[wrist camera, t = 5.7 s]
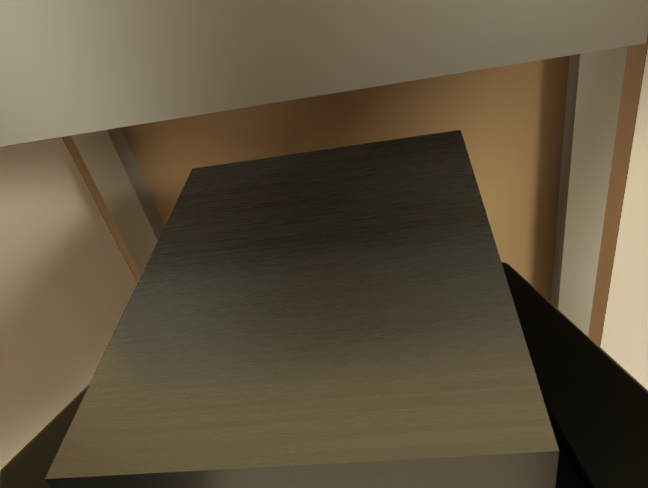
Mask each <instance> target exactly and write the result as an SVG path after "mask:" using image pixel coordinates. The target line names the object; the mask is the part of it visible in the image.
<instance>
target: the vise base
mask: <svg viewBox="0 0 648 488" xmlns="http://www.w3.org/2000/svg"><path fill="white" fill-rule="evenodd" d="M647 47H648V0H0V147H2V146H8V145H14V144H20V143H27V142H33V141H39V140H45V139H52V138H58V137H62V138H63V140H64V142H65V144H66V146H67V148H68V149H69V151H70V153H71V155H72V157H73V159H74V161H75V163H76V165H77V167H78V169H79V171H80V173H81V175H82V177H83V179H84V180H85V182H86V184H87V186H88V188H89V190H90V192H91V194H92V196H93V198H94V200H95V202H96V204H97V206H98V208H99V210H100V211H101V213H102V215H103V217H104V219H105V221H106V223H107V225H108V227H109V229H110V231H111V233H112V235H113V237H114V239H115V241H116V242H117V244H118V246H119V248H120V250H121V252H122V254H123V256H124V258H125V260H126V262H127V264H128V266H129V268H130V270H131V272H132V273H133V275H134V277H135V279H136V281H137V283H138V282H139V280H140V278H141V275H142V273H143V271H144V269H145V267H146V265H147V263H148V261H149V259H150V256H151V254H152V252H153V250H154V248H155V246H156V244H157V242H158V240H159V238H160V235H161V233H162V231H163V229H164V227H165V225H166V223H167V221H168V219H169V216H170V214H171V212H172V210H173V208H174V206H175V204H176V202H177V200H178V198H179V195H180V193H181V191H182V189H183V187H184V185H185V183H186V181H187V179H188V176H189V174H190V172H191V170H192V168H199V167H206V166H213V165H220V164H227V163H234V162H241V161H248V160H255V159H261V158H268V157H275V156H282V155H289V154H296V153H303V152H310V151H317V150H324V149H331V148H338V147H344V146H351V145H358V144H365V143H372V142H379V141H386V140H393V139H400V138H407V137H414V136H420V135H427V134H434V133H441V132H448V131H455V130H461V132H462V136H463V139H464V142H465V145H466V149H467V152H468V155H469V158H470V162H471V165H472V168H473V171H474V175H475V178H476V181H477V184H478V188H479V191H480V194H481V197H482V201H483V204H484V207H485V211H486V214H487V217H488V220H489V224H490V227H491V230H492V233H493V237H494V240H495V243H496V246H497V250H498V253H499V256H500V259H501V262H505V263H507V264H509V265H510V266H511V267H512V268H513V269H514V270H516V271H517V272H518V273H519V274H520V275H521V276H522V277H523V278H524V279H525V280H527V281H528V282H529V283H530V284H531V285H532V286H533V287H534V288H535V289H536V290H538V291H539V292H540V293H541V294H542V295H543V296H544V297H545V298H546V299H547V300H549V301H550V302H551V303H552V304H553V305H554V306H555V307H556V308H557V309H559V310H560V311H561V312H562V313H563V314H564V315H565V316H566V317H567V318H568V319H570V320H571V321H572V322H573V323H574V324H575V325H576V326H577V327H578V328H579V329H581V330H582V331H583V332H584V333H585V334H586V335H587V336H588V337H589V338H590V339H592V340H593V341H594V342H595V343H596V344H597V345H598V346H599V347H600V345H601V338H602V332H603V326H604V319H605V313H606V307H607V300H608V294H609V288H610V281H611V275H612V269H613V262H614V256H615V250H616V243H617V237H618V231H619V224H620V218H621V212H622V205H623V199H624V193H625V187H626V180H627V174H628V168H629V161H630V155H631V149H632V142H633V136H634V130H635V123H636V117H637V111H638V104H639V98H640V92H641V85H642V79H643V73H644V66H645V60H646V54H647Z"/></svg>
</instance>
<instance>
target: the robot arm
mask: <svg viewBox="0 0 648 488" xmlns="http://www.w3.org/2000/svg"><path fill="white" fill-rule="evenodd" d="M501 263H502V266H503V269H504V272H505V276H506V279H507V282H508V285H509V289H510V292H511V295H512V298H513V302H514V305H515V308H516V312H517V315H518V318H519V321H520V325H521V328H522V331H523V334H524V338H525V341H526V344H527V347H528V351H529V354H530V357H531V360H532V364H533V367H534V370H535V373H536V377H537V380H538V383H539V386H540V390H541V393H542V396H543V400H544V403H545V406H546V409H547V413H548V416H549V419H550V422H551V426H552V429H553V432H554V435H555V439H556V442H557V445H558V448H559V458H558V467H557V476H556V485H555V488H648V390H647V389H645V388H644V387H643V386H642V385H641V384H640V383H639V382H638V381H637V380H636V379H634V378H633V377H632V376H631V375H630V374H629V373H628V372H627V371H626V370H625V369H623V368H622V367H621V366H620V365H619V364H618V363H617V362H616V361H615V360H614V359H612V358H611V357H610V356H609V355H608V354H607V353H606V352H605V351H604V350H603V349H601V348H600V347H599V346H598V345H597V344H596V343H595V342H594V341H593V340H592V339H590V338H589V337H588V336H587V335H586V334H585V333H584V332H583V331H582V330H581V329H579V328H578V327H577V326H576V325H575V324H574V323H573V322H572V321H571V320H570V319H568V318H567V317H566V316H565V315H564V314H563V313H562V312H561V311H560V310H559V309H557V308H556V307H555V306H554V305H553V304H552V303H551V302H550V301H549V300H547V299H546V298H545V297H544V296H543V295H542V294H541V293H540V292H539V291H538V290H536V289H535V288H534V287H533V286H532V285H531V284H530V283H529V282H528V281H527V280H525V279H524V278H523V277H522V276H521V275H520V274H519V273H518V272H517V271H516V270H514V269H513V268H512V267H511V266H510V265H509V264H507V263H505V262H501ZM89 385H90V384H89ZM89 385H88V386H87V387H86V388H85V389H84V390H83V391H82V392H81V393H80V394H79V395H78V396H77V397H76V398H75V399H74V400H73V401H72V402H71V403H70V404H68V405H67V406H66V407H65V408H64V409H63V410H62V411H61V412H60V413H59V414H58V415H57V416H56V417H55V418H54V419H53V420H52V421H51V422H50V423H49V424H48V425H47V426H46V427H45V428H44V429H43V430H42V431H41V432H40V433H39V434H38V435H37V436H35V437H34V438H33V439H32V440H31V441H30V442H29V443H28V444H27V445H26V446H25V447H24V448H23V449H22V450H21V451H20V452H19V453H18V454H17V455H16V456H15V457H14V458H13V459H12V460H11V461H10V462H9V463H8V464H7V465H6V466H4V467H3V468H2V469H1V471H0V488H52V487H51V485H50V484H49V483H48V482H47V481H46V480H45V477H46V475H47V473H48V471H49V469H50V467H51V465H52V463H53V461H54V459H55V456H56V454H57V452H58V450H59V448H60V446H61V444H62V442H63V440H64V437H65V435H66V433H67V431H68V429H69V427H70V425H71V423H72V421H73V419H74V416H75V414H76V412H77V410H78V408H79V406H80V404H81V402H82V400H83V397H84V395H85V393H86V391H87V389H88V387H89Z"/></svg>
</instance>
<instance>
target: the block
mask: <svg viewBox="0 0 648 488" xmlns="http://www.w3.org/2000/svg"><path fill="white" fill-rule="evenodd" d="M558 458H559V448H558V445H557V442H556V439H555V435H554V432H553V429H552V426H551V422H550V419H549V416H548V413H547V409H546V406H545V403H544V400H543V396H542V393H541V390H540V386H539V383H538V380H537V377H536V373H535V370H534V367H533V364H532V360H531V357H530V354H529V351H528V347H527V344H526V341H525V338H524V334H523V331H522V328H521V325H520V321H519V318H518V315H517V312H516V308H515V305H514V302H513V298H512V295H511V292H510V289H509V285H508V282H507V279H506V276H505V272H504V269H503V266H502V263H501V259H500V256H499V253H498V250H497V246H496V243H495V240H494V237H493V233H492V230H491V227H490V224H489V220H488V217H487V214H486V211H485V207H484V204H483V201H482V197H481V194H480V191H479V188H478V184H477V181H476V178H475V175H474V171H473V168H472V165H471V162H470V158H469V155H468V152H467V149H466V145H465V142H464V139H463V136H462V132H461V130H455V131H448V132H441V133H434V134H427V135H420V136H414V137H407V138H400V139H393V140H386V141H379V142H372V143H365V144H358V145H351V146H344V147H338V148H331V149H324V150H317V151H310V152H303V153H296V154H289V155H282V156H275V157H268V158H261V159H255V160H248V161H241V162H234V163H227V164H220V165H213V166H206V167H199V168H192V170H191V172H190V174H189V176H188V179H187V181H186V183H185V185H184V187H183V189H182V191H181V193H180V195H179V198H178V200H177V202H176V204H175V206H174V208H173V210H172V212H171V214H170V216H169V219H168V221H167V223H166V225H165V227H164V229H163V231H162V233H161V235H160V238H159V240H158V242H157V244H156V246H155V248H154V250H153V252H152V254H151V256H150V259H149V261H148V263H147V265H146V267H145V269H144V271H143V273H142V275H141V278H140V280H139V282H138V284H137V286H136V288H135V290H134V292H133V294H132V296H131V299H130V301H129V303H128V305H127V307H126V309H125V311H124V313H123V315H122V318H121V320H120V322H119V324H118V326H117V328H116V330H115V332H114V334H113V336H112V339H111V341H110V343H109V345H108V347H107V349H106V351H105V353H104V355H103V357H102V360H101V362H100V364H99V366H98V368H97V370H96V372H95V374H94V376H93V379H92V381H91V383H90V385H89V387H88V389H87V391H86V393H85V395H84V397H83V400H82V402H81V404H80V406H79V408H78V410H77V412H76V414H75V416H74V419H73V421H72V423H71V425H70V427H69V429H68V431H67V433H66V435H65V437H64V440H63V442H62V444H61V446H60V448H59V450H58V452H57V454H56V456H55V459H54V461H53V463H52V465H51V467H50V469H49V471H48V473H47V475H46V477H45V480H46V481H47V482H48V483H49V484H50V485H51V487H52V488H555V485H556V476H557V467H558Z"/></svg>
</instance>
